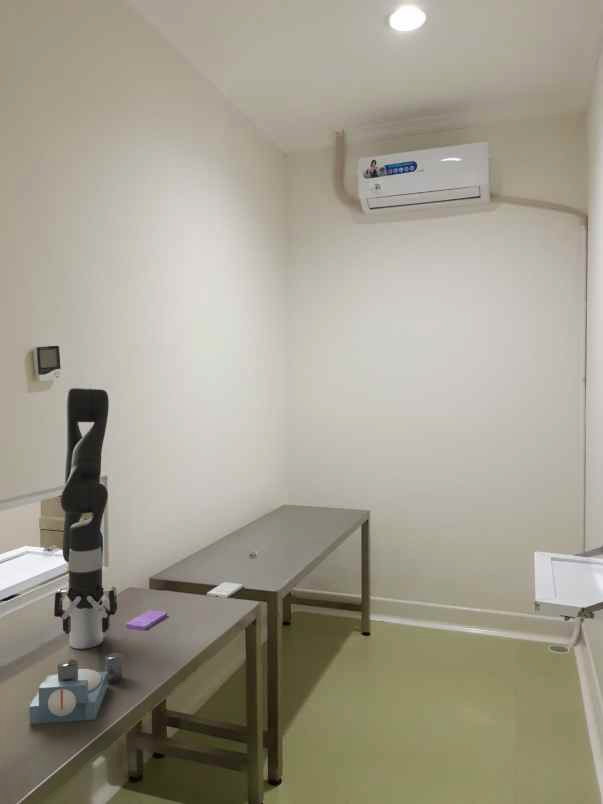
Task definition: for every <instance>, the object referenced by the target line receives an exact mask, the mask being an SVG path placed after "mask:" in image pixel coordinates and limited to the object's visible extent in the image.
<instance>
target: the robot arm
mask: <svg viewBox="0 0 603 804" xmlns="http://www.w3.org/2000/svg"><path fill="white" fill-rule="evenodd" d="M109 404H110V401H109V396H108V392H107V391H106V390H104V389H100V388H81V387H78V388H77V387H76V388H75V387H73V388H69V390H68V391H67V392H66V395H65V431H66V457H65V471H64V472H65V477H64V480H65V481H64V487H63V490H62V492H61V494H60V506H61V509H62V510H63V511H64V512H65V513H64V525H63V535H62V555H63V560H64V561H65V562H66V563H67V565H68V590H64V589H63V588H59V589H57V591H56V592H55V594H54V611H53V612H54V613H53V615H54V617H55V618H57V617H59V618H61V619H62V631H63V632H64V633H65V635H69V646H70V647H71V648H74V649H77V650H78V649H80V650H82V649H91V648H95V647H97V646H100V645H101V644H102V643H103V641H104V633H106V632H107V631H108V629H109V628H110V626H111V625H110V616H113V615H115V614H116V612H117V610H118V599H117V588H116V587H115V586H114V587H113V586H112V587H111V588H109V589H108V588H107V589H104V588H103V558H104V557H103V554H104V553H103V552H104V551H103V550H104V538H103V532H102V530H101V529H102V521H103V517H104V516H103V515H104V514H105V510H106V506H107V503H108V499H109V492H108V490H107V487H106V486H105V485H104V484H103V483H100V480H101V474H102V473H101V472H102V450H103V443H104V440H105V435H106V429H107V423H108V416H109V410H110V409H109V406H110V405H109ZM79 423H93V425H92V426H91V428H90V429H89V430H88V431H87V432H86V433H85V434H84V435H83V436H82V432H81V429H80V426H79ZM84 514H92V515H91V516H90V517H89V518H88V519H86V520H82V521H81V519H82V516H83V515H84ZM104 595H105V597H106V599H107V600H109V608H108V607H107V605H106V603H105V602H104V599H103V596H104ZM66 597H67V598H68V604H69V605H68V607H67V608H66V610H64V609H63V602H64V600H65V598H66Z"/></svg>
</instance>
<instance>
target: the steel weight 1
mask: <svg viewBox="0 0 603 804" xmlns="http://www.w3.org/2000/svg"><path fill="white" fill-rule="evenodd" d="M78 669H79V662H78V660H76V659H66V660H63V661H60V662H58V664H57V674H58V682H62V681H78Z"/></svg>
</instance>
